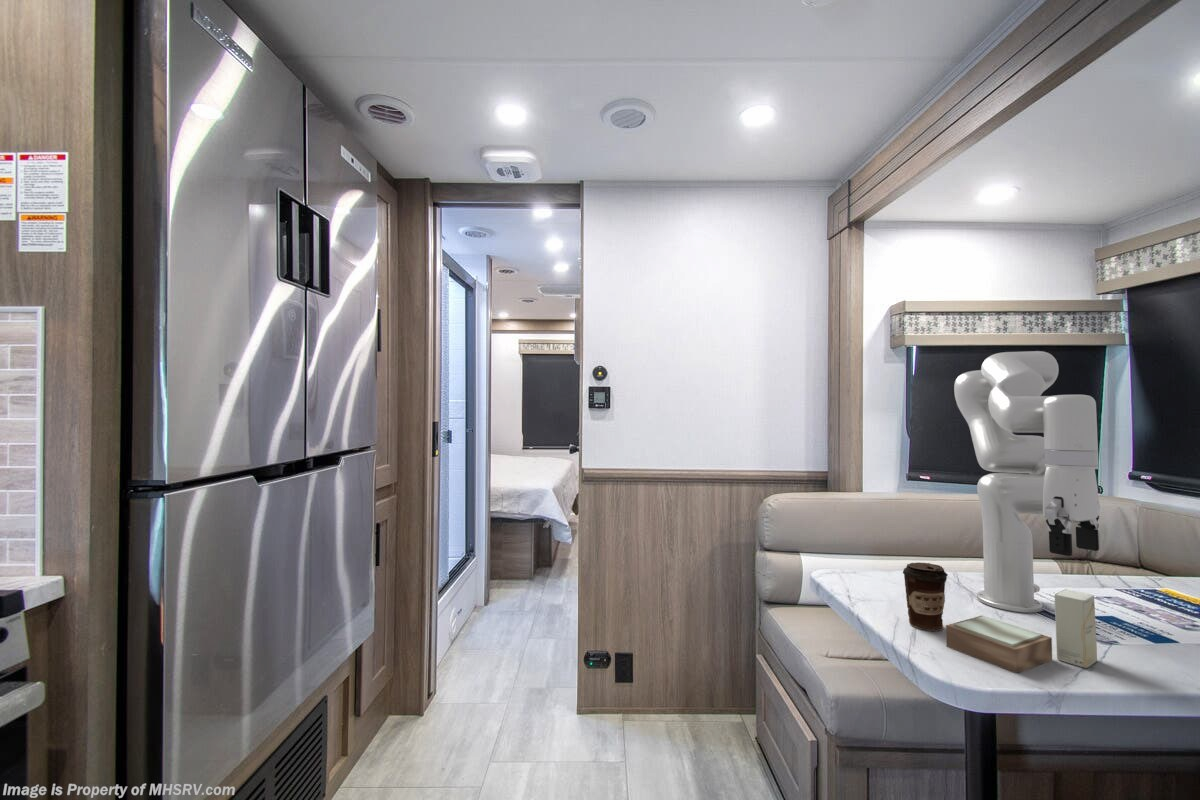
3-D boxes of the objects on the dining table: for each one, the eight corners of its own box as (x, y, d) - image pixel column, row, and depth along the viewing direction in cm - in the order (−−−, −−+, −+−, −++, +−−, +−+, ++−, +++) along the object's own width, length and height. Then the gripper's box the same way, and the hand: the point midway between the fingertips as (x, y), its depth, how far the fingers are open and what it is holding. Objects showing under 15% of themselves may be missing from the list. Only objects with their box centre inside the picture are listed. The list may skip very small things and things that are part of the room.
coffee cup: (957, 636, 107) (955, 572, 108) (913, 632, 109) (911, 570, 110) (938, 620, 116) (937, 561, 116) (898, 617, 118) (896, 559, 118)
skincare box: (1086, 669, 93) (1084, 601, 94) (1055, 659, 97) (1053, 594, 97) (1098, 660, 97) (1095, 594, 97) (1067, 651, 100) (1065, 588, 101)
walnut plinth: (982, 635, 108) (981, 613, 108) (1052, 659, 97) (1051, 635, 97) (946, 646, 103) (945, 623, 103) (1016, 673, 92) (1015, 647, 92)
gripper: (1069, 458, 105) (1073, 543, 104) (1022, 459, 98) (1025, 551, 97) (1119, 460, 98) (1123, 551, 97) (1072, 462, 91) (1076, 561, 90)
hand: (1074, 551), depth 97 cm, fingers open, 9 cm apart
